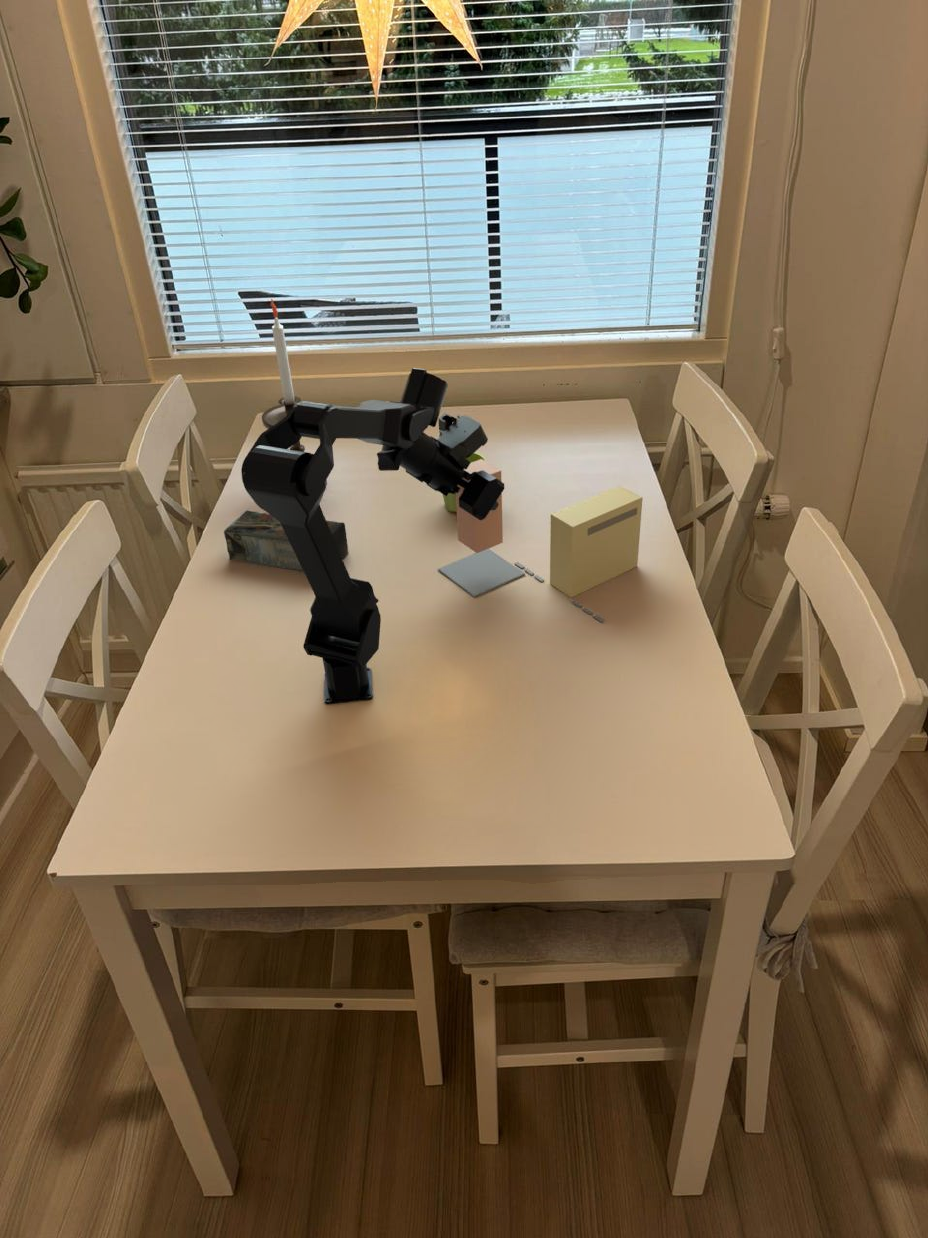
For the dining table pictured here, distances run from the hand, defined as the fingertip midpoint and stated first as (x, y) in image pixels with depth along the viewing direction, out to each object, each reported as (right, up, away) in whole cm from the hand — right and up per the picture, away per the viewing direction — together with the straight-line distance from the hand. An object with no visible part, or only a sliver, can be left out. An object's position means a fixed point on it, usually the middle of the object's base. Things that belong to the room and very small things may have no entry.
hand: (486, 500), depth 142 cm
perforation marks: (+11, -14, +2) cm, 18 cm away
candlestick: (-34, +7, +35) cm, 49 cm away
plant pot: (-4, +2, +25) cm, 26 cm away
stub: (-1, -6, +3) cm, 7 cm away
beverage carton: (-33, -8, +14) cm, 37 cm away
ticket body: (+17, -11, +5) cm, 21 cm away
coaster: (-1, -11, +7) cm, 13 cm away
